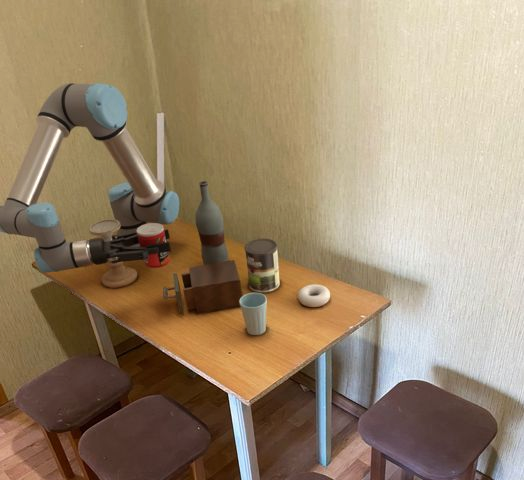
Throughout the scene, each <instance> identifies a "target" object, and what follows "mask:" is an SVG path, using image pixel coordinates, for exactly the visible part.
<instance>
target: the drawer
mask: <svg viewBox="0 0 524 480" xmlns="http://www.w3.org/2000/svg"><path fill="white" fill-rule="evenodd" d="M172 274H173V275H172V276H173V283H174V284H173V285H174V286H171V287H166V286H164V287H162V298H163V300H164V301H165V302H167V301H168V300H169V299H174V298H176V302H177V306H178V311H179V314H183V313H185V312H184V304H183V295H184V300H185V305H186V310H187V311H189V310H190V311H191V310H196V305H195V300H194V295H193V290H192V285H191V278H190V272H185V273H181V275H180V276H181V279H182V282H183V283H182V284H183V289H182V290H183V294H182V290H181V284H180V280H179V276H178V273H177V272H174V273H172ZM173 290H174V293H175V294H172V295H169V293H168V291H173Z"/></svg>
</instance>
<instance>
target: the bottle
mask: <svg viewBox="0 0 524 480" xmlns="http://www.w3.org/2000/svg"><path fill="white" fill-rule="evenodd" d="M198 184H199V190H200V196H201V197H200V198H201V200H200V202H199V205H198V207H197V209H196V211H195V216H194V217H195V226H196V229H197V232H198V237H199V241H200V252H201V253H200V254H201V260H202V263H203V265H206V264H212V263H218V262H224V261H229V251H228V248H227V244H226V242H225V241H226V240H225V229H224V223H225V222H224V218H223V217H224V216H223V214H222V211H221V208H220V207H219V206H218V205H217V204H216V203H215V202H214V201H213V199H212V198H211V196H210V190H209V185H208V184H209V183H208V181H207V180H203V181H199V183H198Z"/></svg>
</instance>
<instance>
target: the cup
mask: <svg viewBox="0 0 524 480" xmlns="http://www.w3.org/2000/svg"><path fill="white" fill-rule="evenodd" d="M267 301H268V299H267V296H266V295H265V294H263V293H260V292H249V293H246V294H244V295H242V297H241V298H240V301H239V302H240V306H239V307H240V310H241V313H242V317H243V321H244V324H245V325H244V326H245V328H246V332H247V334H249V335H250V336H260V335H262V334H264V333H266V329H267V304H268V303H267Z"/></svg>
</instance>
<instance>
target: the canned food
mask: <svg viewBox="0 0 524 480" xmlns="http://www.w3.org/2000/svg"><path fill="white" fill-rule="evenodd" d="M148 223H149V222H148ZM164 230H165V229H164V225H161V224H158V223H149V224H145V225H142V226H140V227H139V228H137V230H136V231H137V236H138V240H139V244H140V247H146V245H151V244H158V243H164V242H168V241H167V239H166V237H165V232H164ZM146 248H147V247H146ZM148 257H149V258H148V259H145V260H143V263H144V264H145V266H146V267H148V268H151V269H158V268H163V267H165V266H168V264H169V263H170V262H171V261H170V260H171V255H170V251H169V252H163V253H157V254H151V255H148Z"/></svg>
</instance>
